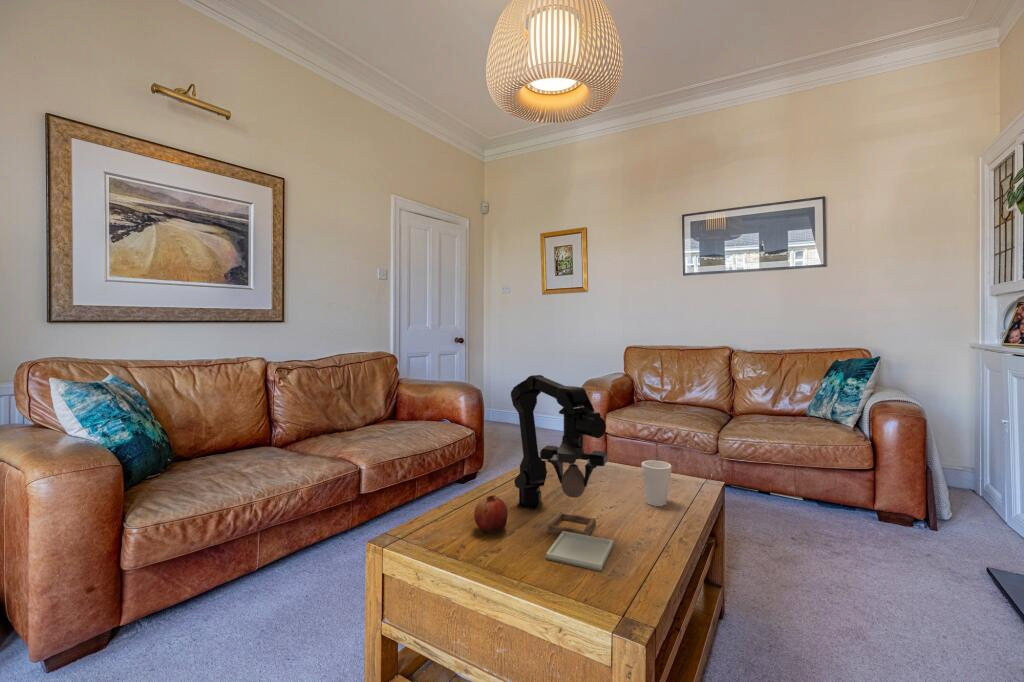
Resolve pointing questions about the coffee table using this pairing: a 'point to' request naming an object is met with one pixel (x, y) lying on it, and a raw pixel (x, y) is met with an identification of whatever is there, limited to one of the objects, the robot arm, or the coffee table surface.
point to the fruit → (491, 514)
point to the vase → (573, 481)
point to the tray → (580, 550)
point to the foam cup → (656, 481)
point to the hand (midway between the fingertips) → (573, 484)
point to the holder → (575, 518)
